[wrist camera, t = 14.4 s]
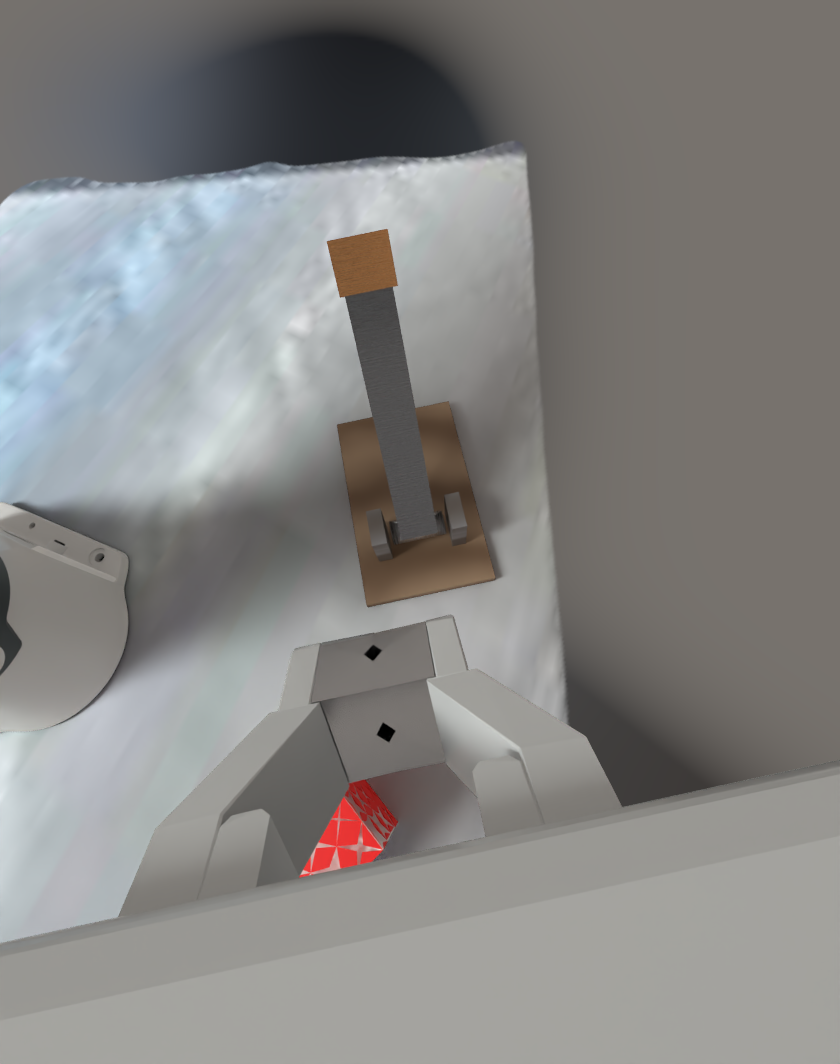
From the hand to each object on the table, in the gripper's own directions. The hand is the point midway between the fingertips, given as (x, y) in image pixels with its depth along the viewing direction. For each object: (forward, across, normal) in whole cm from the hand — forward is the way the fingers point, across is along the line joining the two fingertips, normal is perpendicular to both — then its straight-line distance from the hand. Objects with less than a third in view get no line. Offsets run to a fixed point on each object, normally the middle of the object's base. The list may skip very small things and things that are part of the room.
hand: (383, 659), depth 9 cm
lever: (+30, -1, +10) cm, 31 cm away
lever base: (+35, -1, +10) cm, 36 cm away
